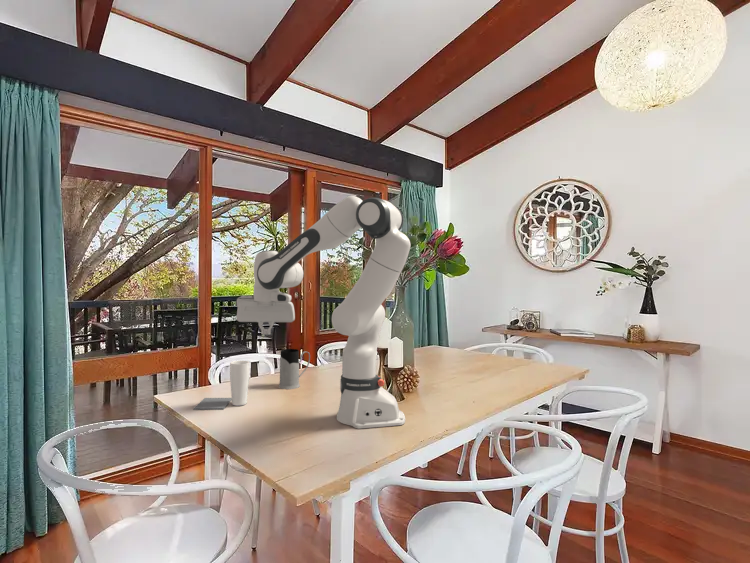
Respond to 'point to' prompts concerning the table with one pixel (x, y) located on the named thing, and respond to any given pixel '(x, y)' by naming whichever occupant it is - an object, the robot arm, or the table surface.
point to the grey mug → (290, 368)
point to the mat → (212, 404)
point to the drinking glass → (239, 382)
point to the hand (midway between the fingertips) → (265, 334)
